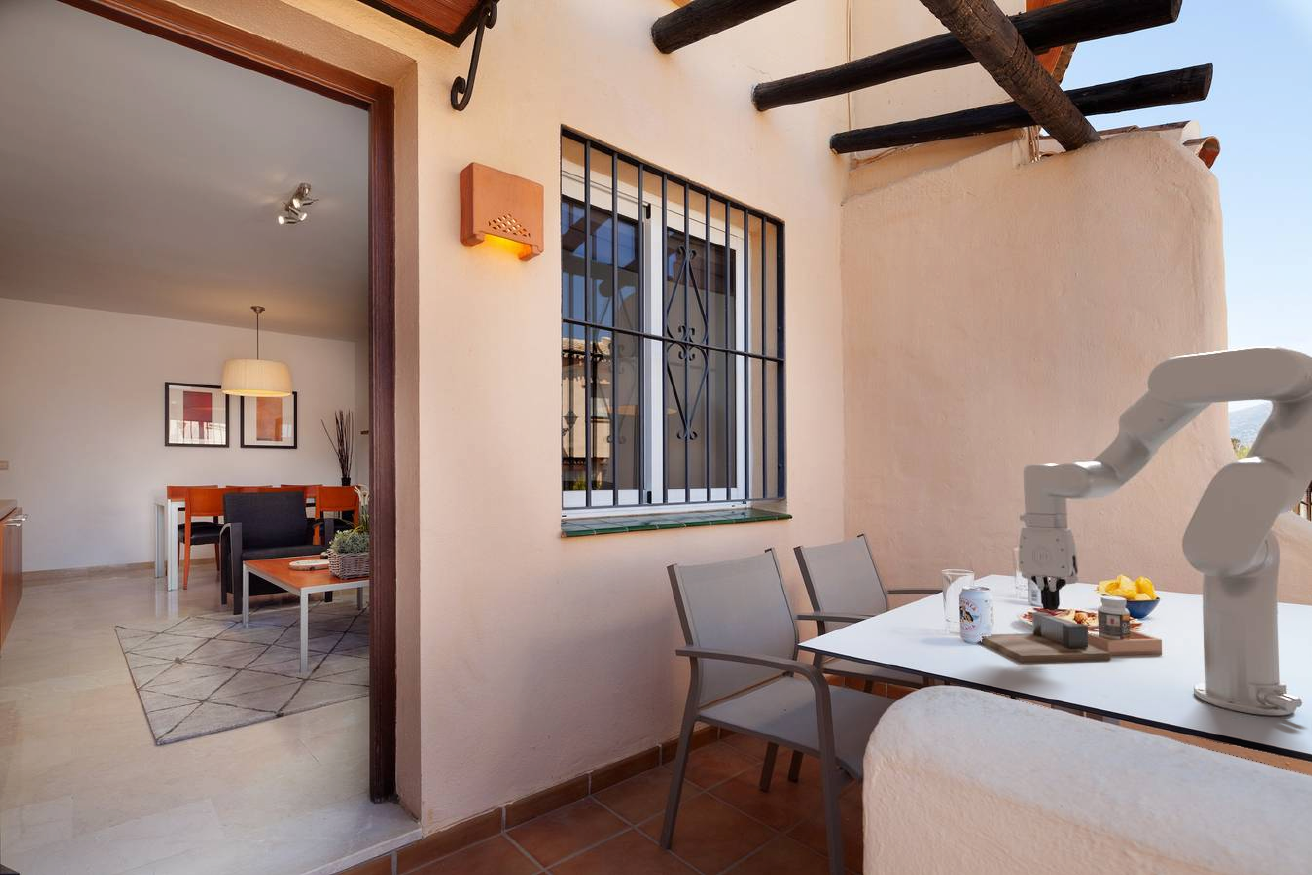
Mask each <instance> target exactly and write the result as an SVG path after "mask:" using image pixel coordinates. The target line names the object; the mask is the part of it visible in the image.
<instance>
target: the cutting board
mask: <svg viewBox="0 0 1312 875" xmlns="http://www.w3.org/2000/svg"><path fill="white" fill-rule="evenodd" d="M982 638H983V639H982V643H981V644H984V646H987V647H988V648H991V649H992V650H994V651H997V652H999V653H1001V654H1003V655H1005V656H1006V657H1009V658H1011V659H1013V660H1015V661H1016V662H1019V663H1021V664H1030V663H1032V664H1034V663H1035V664H1037V663H1039V664H1040V663H1041V664H1042V663H1043V664H1044V663H1069V662H1071V663H1073V662H1076V663H1077V662H1100V661H1101V662H1102V661H1103V662H1104V661H1105V662H1106V661H1111V656H1110V653H1109V652H1106V651H1104V650H1101V649H1099V648H1096V647H1094V646H1091V645H1089V644H1088V648H1070V649H1069V648H1067V647H1064V646H1063V644H1061V643H1058V642H1056V641H1053V640H1051V639H1048V638H1045V637H1043V636H1039V635H1035V634H1033V632H1031V633H1028V632H1024V633H996V634H995V633H993V634H991V636H988V637H987V636H982Z"/></svg>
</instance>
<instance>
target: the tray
mask: <svg viewBox="0 0 1312 875" xmlns="http://www.w3.org/2000/svg"><path fill="white" fill-rule="evenodd" d="M1087 626H1088V630H1091V629H1099V624H1098V625H1087ZM1130 638H1131V639H1120V640H1108V639H1105V638H1103V637H1100V636H1097V635H1095V634H1092V633H1089V632H1088V644H1089V645H1091V646H1094V647H1096V648H1099V649H1101V650H1104V651H1106V652H1109V653H1110V657H1111V656H1112V657H1113V656H1114V657H1115V656H1140V655H1141V656H1143V655H1147V656H1148V655H1163V640H1162V639H1161V638H1158V637H1155V636H1151V635H1148V634H1146V633H1143V632H1140V631H1138V630H1134V629H1131V628H1130Z"/></svg>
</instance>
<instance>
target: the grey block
mask: <svg viewBox="0 0 1312 875" xmlns="http://www.w3.org/2000/svg"><path fill="white" fill-rule="evenodd" d="M1031 617H1032V621H1031V622H1032V633H1033V634H1035V635H1039V636H1043V637H1045V638H1048V639H1051V640H1053V641H1056V642H1058V643H1061V644H1063V646H1064V647H1067V648H1069V649H1070V648H1088V626H1089V625H1086V624H1083V623H1081V624H1080V623H1075V622H1071V621H1069V620H1066V619H1063V618H1060V617H1057V616H1054V615H1051V614H1050V613H1047V612H1044V611H1043V612H1042V611H1041V612H1039V611H1036V612H1035V611H1033V612H1031Z"/></svg>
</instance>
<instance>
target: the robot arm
mask: <svg viewBox="0 0 1312 875" xmlns="http://www.w3.org/2000/svg"><path fill="white" fill-rule="evenodd" d="M1147 389H1148V390H1147V391H1146V392H1145V393H1144V394H1143V395H1142V396H1141V397H1139V399H1137V400H1136V401H1135V402H1134V403H1133V404H1132V405H1130V407H1128V408H1127V409H1126V410H1125V411H1124V412H1122V414H1121V415H1120V416H1119V418H1118V433H1117V435H1116V437H1115V438H1114V440H1113V441H1112V442H1111V443H1110V445H1108V446H1107V447H1106V448H1105V449H1104V450H1103V451H1102V452H1101V453H1100V454H1098V455H1097V456H1096V457H1095V458H1093V460H1091V461H1073V462H1067V463H1060V464H1059V463H1031V464H1028V465H1026V466H1025V467H1024V468H1023V487H1024V506H1025V512H1024V515H1022V514H1021V515H1020V516H1019V521H1020V522H1024V525H1025V526H1023V527H1022V528H1021V532H1020V537H1019V545H1018V546H1019V548H1018V568H1019V571H1020V572H1021V576H1022V577H1023V579H1027V580H1029V581H1032V582H1033V583H1034V584H1035V585H1036V586H1037V589H1038V590H1039V591H1040V602H1041V605H1042V609H1043V610H1045V611H1048V610H1049V611H1052V612H1053V611H1056V610H1058V609H1059V607H1060V606H1061V602H1060V601H1061V600H1060V599H1061V597H1060V591H1061V590H1062V588H1064V587H1065V586H1066V585H1074V584H1077V583H1078V582H1079V579H1078V576H1077V574H1078V573H1079V572H1078V571H1079V567H1078V566H1079V565H1078V564H1079V563H1078V555H1077V548H1076V544H1075V539H1074V535H1073V532H1072V529H1071V528H1068V514H1067V512H1068V511H1067V510H1068V509H1067V499H1070V500H1071V499H1072V500H1088V499H1097V498H1104V497H1107V496H1110V495H1111V494H1113V493H1115V492H1117V491H1118V490H1119V489H1121V488H1122V487H1123V486H1124V485H1125V484H1127V483H1128V482H1129V481H1130V480H1132V479H1133V478H1134V477H1135V476H1137V475H1138V474H1139V473H1140V472H1141V471H1142V470H1143V469H1145V467H1146V466H1147V465H1148V463H1150V461H1151V460H1152V459H1153V458H1154V456H1156V454H1157V453H1158V451H1159V449H1160V448H1161V447H1162V446H1163V445H1164V444H1166V442H1167V441H1169V440H1170V439H1171V438H1172V437H1174V436H1175V435H1176V434H1177V433H1179V431H1181V430H1182V429H1183V428H1184V427H1185V426H1187V425H1188V424H1189V423H1190V422H1191V421H1193V420H1194V419H1195V418H1196V417H1197V416H1199V415H1200V414H1201V413H1202V412H1204V411H1205V410H1206V409H1207V408H1208V407H1209V406H1211V405H1212V404H1214V403H1215V404H1216V403H1229V402H1239V401H1241V402H1242V401H1260V400H1261V401H1268V402H1269V401H1270V402H1271V404H1272V410H1271V412H1270V415H1269V416H1268V417H1267V419H1266V421H1265V422H1264V423H1263V425H1262V426H1261V428H1260V429H1259V431H1258V433H1257V435H1256V438H1255V440H1254V441H1253V443H1252V445H1251V447H1250V449H1249V451H1248V453H1247V454H1246V456H1245V457H1244V458H1243V459H1238V460H1234V461H1231V462H1229V463H1227V464H1226V465H1224V466H1222V467H1221V468H1220V469H1219V470H1218V471H1217V472H1216V473H1215V474H1214V476H1213V477H1212V478H1211V479H1210V482H1209V483H1208V485H1207V487H1206V488H1205V491H1204V493H1203V495H1202V496H1201V499H1200V500H1199V502H1198V505H1197V506H1196V509H1195V510H1194V512H1193V515H1192V516H1191V519H1190V520H1189V522H1188V524H1187V526H1186V529H1185V531H1184V533H1183V537H1182V539H1181V548H1182V552H1183V555H1184V559H1186V561H1187V562H1188V564H1190V566H1191V567H1192V568H1194V569H1196V570H1197V571H1198V572H1200V573H1202V574H1203V583H1202V584H1203V585H1202V614H1203V615H1202V616H1203V618H1202V619H1203V647H1204V648H1203V650H1204V651H1203V652H1204V680H1205V681H1204V682H1199V683H1197V684H1195V685H1194V686H1193V693H1194V695H1195V696H1196V697H1197V698H1199V699H1201V700H1202V701H1204V702H1207V703H1209V704H1212V705H1214V706H1217V707H1220V708H1224V709H1228V710H1231V711H1236V712H1240V713H1244V714H1245V713H1247V714H1251V715H1252V714H1253V715H1261V716H1274V717H1275V716H1278V717H1279V716H1280V717H1281V716H1287V715H1290V714H1293V712H1295V711H1296V710H1297V708H1300V707H1301V706H1302V704H1303V701H1302V699H1301V698H1298V697H1297V696H1296V697H1295V696H1293V695H1289V694H1287V684H1285V683H1282V682H1281V681H1280V655H1279V651H1280V650H1279V649H1280V648H1279V624H1278V623H1279V621H1278V620H1279V618H1278V615H1279V611H1278V610H1279V609H1278V605H1279V604H1278V587H1279V586H1278V585H1279V584H1278V582H1279V570H1280V563H1281V549H1280V544H1279V541H1278V538H1277V537H1276V535H1275V533H1274V532H1273V531H1272V528H1273V526H1274V525H1275V522H1276V521H1277V519H1278V518H1279V516H1280V515H1282V514H1285V513H1288V512H1290V511H1292V510H1293V509H1294V508H1296V507H1298V506H1299V505H1300V503H1301V502H1302V501H1303V499H1304V496H1305V494H1306V493H1307V490H1308V488H1309V487H1310V485H1311V482H1312V356H1310V355H1308V354H1306V353H1303V352H1301V351H1296V350H1292V349H1287V348H1283V347H1280V346H1270V345H1265V346H1264V345H1262V346H1260V345H1259V346H1252V347H1250V346H1249V347H1244V348H1237V349H1235V348H1234V349H1228V350H1221V351H1213V352H1206V353H1199V354H1188V355H1180V356H1174V357H1171V358H1167V359H1165V360H1163V361H1161V362H1160V363H1159V364H1157V365H1155V367H1154V368H1153V369H1152V370H1151V371H1150V374H1149V376H1148V378H1147ZM1049 578H1050V579H1049Z"/></svg>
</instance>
